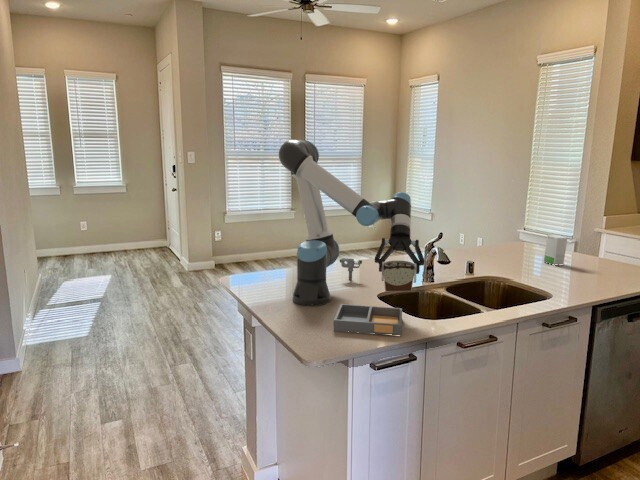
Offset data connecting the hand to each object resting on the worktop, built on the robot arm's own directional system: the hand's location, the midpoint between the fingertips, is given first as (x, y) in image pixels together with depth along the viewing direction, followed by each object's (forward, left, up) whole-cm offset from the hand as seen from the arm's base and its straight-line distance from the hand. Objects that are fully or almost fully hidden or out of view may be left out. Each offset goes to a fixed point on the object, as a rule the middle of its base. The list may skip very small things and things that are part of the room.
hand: (398, 280), depth 164 cm
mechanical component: (-23, +45, -14) cm, 53 cm away
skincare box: (+82, +101, -14) cm, 131 cm away
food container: (0, +3, -4) cm, 5 cm away
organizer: (-10, -9, -14) cm, 19 cm away
